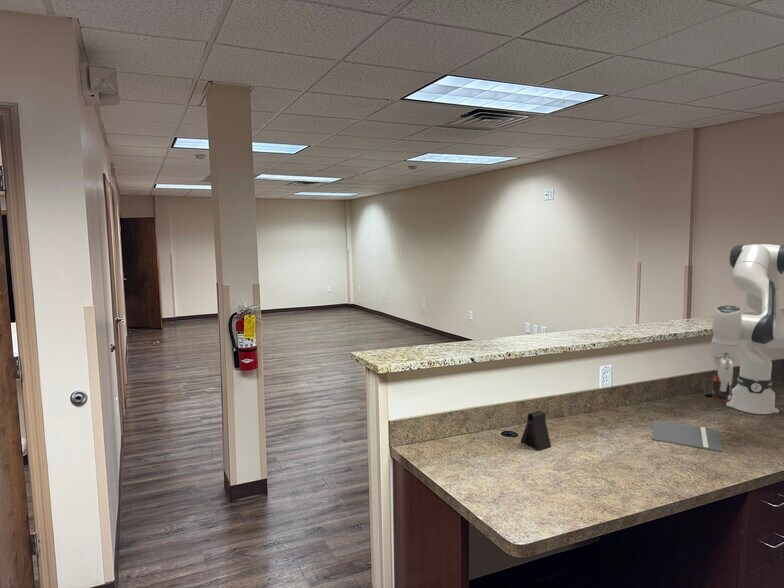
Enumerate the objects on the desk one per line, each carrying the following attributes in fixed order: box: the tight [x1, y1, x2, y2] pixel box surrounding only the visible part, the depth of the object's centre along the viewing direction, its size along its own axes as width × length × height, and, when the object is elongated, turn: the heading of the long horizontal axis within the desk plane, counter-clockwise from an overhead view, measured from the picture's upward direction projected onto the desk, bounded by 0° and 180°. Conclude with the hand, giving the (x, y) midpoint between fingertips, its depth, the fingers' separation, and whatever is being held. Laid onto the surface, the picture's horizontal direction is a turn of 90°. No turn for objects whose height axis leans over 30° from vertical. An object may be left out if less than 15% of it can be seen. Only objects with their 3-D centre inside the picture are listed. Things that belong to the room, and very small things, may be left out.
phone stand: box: [520, 410, 552, 451], centre depth 187 cm, size 9×6×12 cm, turn 31°
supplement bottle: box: [711, 369, 733, 403], centre depth 189 cm, size 6×6×11 cm
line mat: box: [652, 419, 723, 453], centre depth 196 cm, size 22×22×1 cm
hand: (721, 388), depth 190 cm, fingers closed on supplement bottle, 6 cm apart
